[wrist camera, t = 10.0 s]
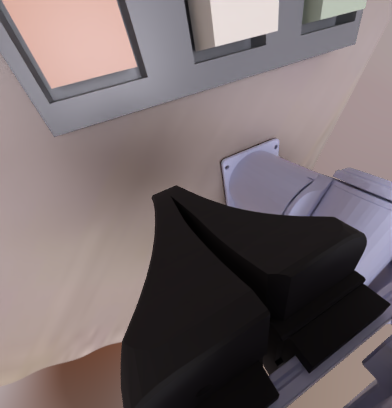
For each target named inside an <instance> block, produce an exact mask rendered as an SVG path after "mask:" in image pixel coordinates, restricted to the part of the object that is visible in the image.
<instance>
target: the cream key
mask: <svg viewBox="0 0 392 408" xmlns="http://www.w3.org/2000/svg"><path fill="white" fill-rule="evenodd" d="M188 7H189V13H190V19H191V25H192V32H193V38H194V44H195V50H196V52H197V51H201V50H205V49H209V48H213V47H217V46H221V45H225V44H229V43H232V42H236V41H240V40H244V39H248V38H252V37H256V36H260V35H264V34H268V33H271V32H275V31H278V15H279V0H188Z"/></svg>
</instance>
